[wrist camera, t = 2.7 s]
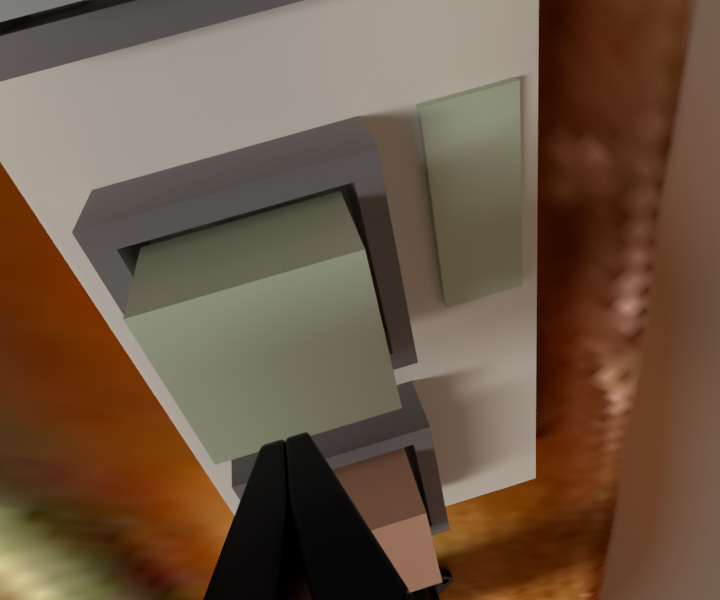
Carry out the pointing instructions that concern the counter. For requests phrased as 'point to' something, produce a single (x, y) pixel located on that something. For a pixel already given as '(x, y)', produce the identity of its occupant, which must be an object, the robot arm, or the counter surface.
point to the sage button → (265, 327)
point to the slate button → (28, 7)
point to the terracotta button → (394, 514)
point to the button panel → (310, 186)
